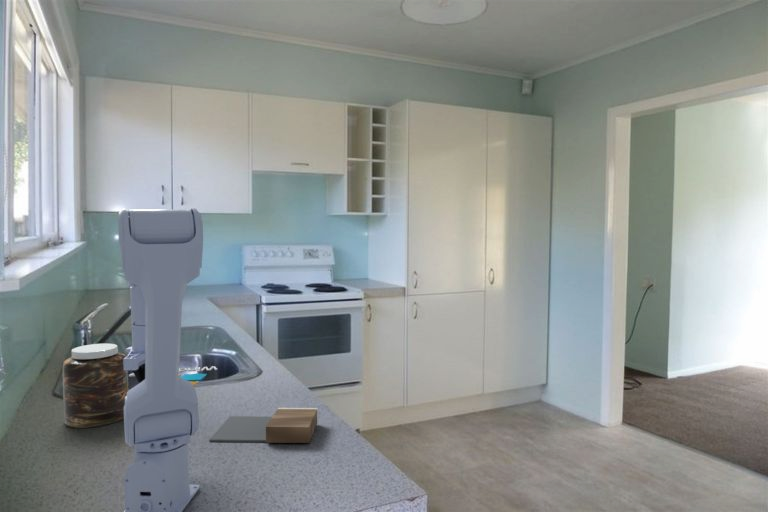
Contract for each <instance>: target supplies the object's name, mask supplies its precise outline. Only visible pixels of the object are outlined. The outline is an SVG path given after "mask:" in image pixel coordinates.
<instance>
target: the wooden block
mask: <svg viewBox="0 0 768 512" xmlns="http://www.w3.org/2000/svg"><path fill="white" fill-rule="evenodd" d="M318 413H319V411H318V407H277V409H276V411H274V414H273V415H272V416H271V417H272V418H271V420H270V421H269V423H268V424H267V426H266V442H265V443H268V444H269V443H271V444H273V443H274V444H275V443H278V444H280V443H282V444H286V443H287V444H290V443H291V444H297V443H298V444H299V443H300V444H309V443H310V442H311V439H312V437H313V435H314V432H315V429H316V428H317V425H318V423H319V419H318V415H319V414H318Z"/></svg>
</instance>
